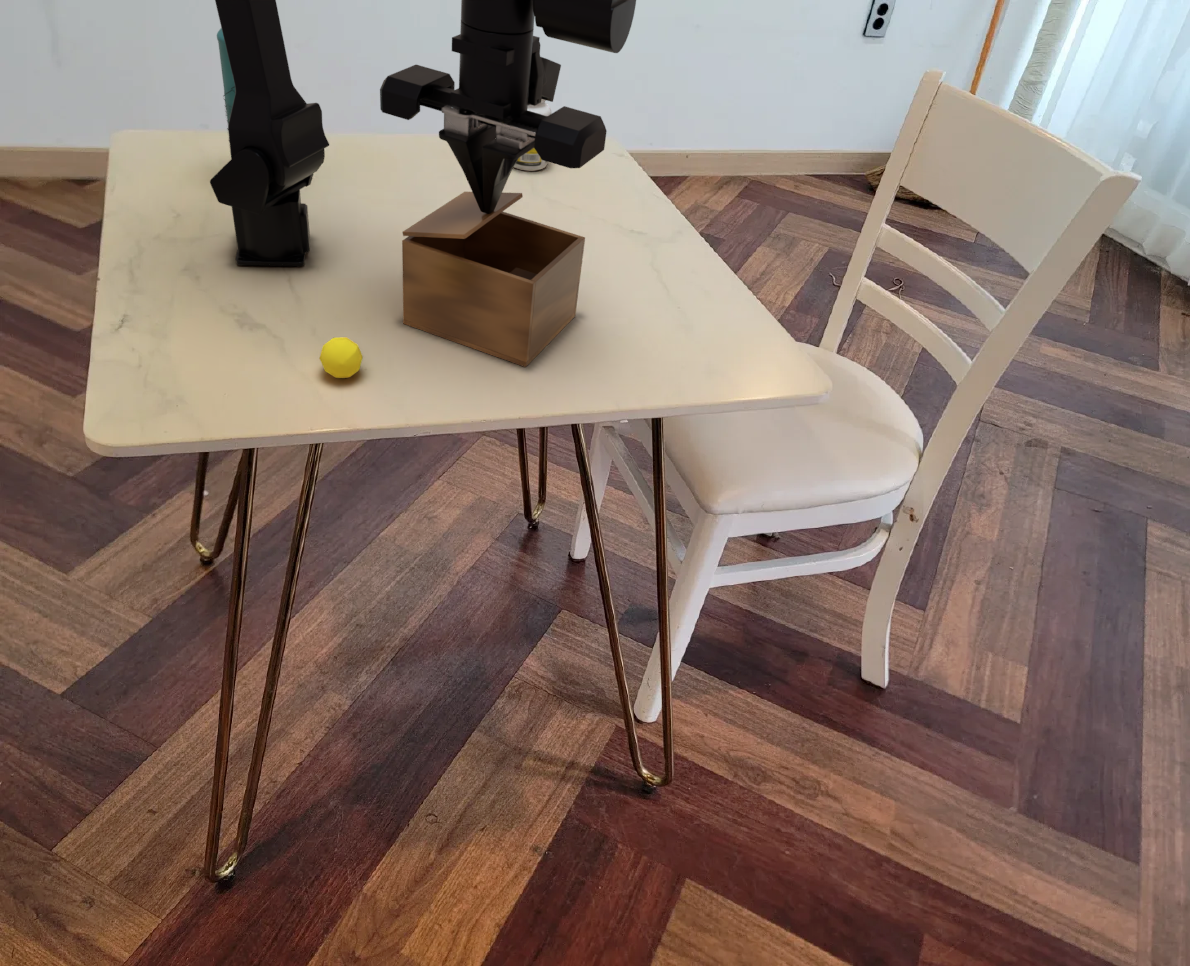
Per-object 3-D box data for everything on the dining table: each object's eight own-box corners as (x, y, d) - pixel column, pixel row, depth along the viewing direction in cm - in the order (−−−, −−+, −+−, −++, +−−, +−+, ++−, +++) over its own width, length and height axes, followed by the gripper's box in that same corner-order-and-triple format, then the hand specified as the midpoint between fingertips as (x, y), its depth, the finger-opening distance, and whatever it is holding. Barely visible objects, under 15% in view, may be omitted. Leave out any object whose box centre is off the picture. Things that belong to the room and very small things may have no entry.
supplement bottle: (524, 152, 121) (530, 75, 114) (555, 165, 119) (563, 88, 112) (497, 161, 117) (501, 83, 111) (528, 175, 115) (534, 96, 109)
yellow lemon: (330, 389, 76) (313, 351, 74) (329, 367, 81) (314, 331, 79) (369, 376, 76) (353, 337, 74) (366, 355, 81) (351, 319, 80)
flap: (403, 236, 79) (402, 231, 79) (465, 195, 87) (464, 191, 87) (465, 239, 77) (464, 234, 77) (523, 197, 85) (522, 192, 85)
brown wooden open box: (403, 323, 85) (401, 240, 80) (461, 277, 93) (464, 199, 88) (525, 367, 82) (533, 283, 77) (575, 316, 90) (585, 237, 85)
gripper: (643, 31, 75) (616, 210, 85) (446, -19, 79) (443, 157, 89) (589, 61, 66) (566, 254, 77) (373, 3, 71) (379, 194, 81)
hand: (487, 211), depth 81 cm, fingers closed
